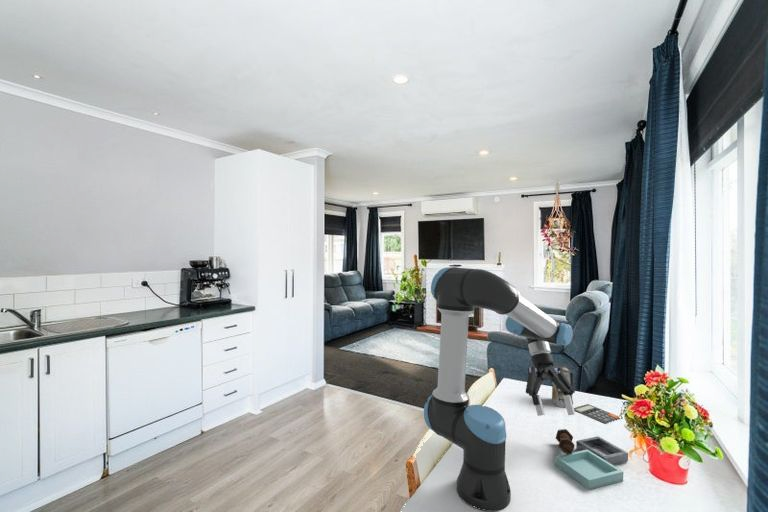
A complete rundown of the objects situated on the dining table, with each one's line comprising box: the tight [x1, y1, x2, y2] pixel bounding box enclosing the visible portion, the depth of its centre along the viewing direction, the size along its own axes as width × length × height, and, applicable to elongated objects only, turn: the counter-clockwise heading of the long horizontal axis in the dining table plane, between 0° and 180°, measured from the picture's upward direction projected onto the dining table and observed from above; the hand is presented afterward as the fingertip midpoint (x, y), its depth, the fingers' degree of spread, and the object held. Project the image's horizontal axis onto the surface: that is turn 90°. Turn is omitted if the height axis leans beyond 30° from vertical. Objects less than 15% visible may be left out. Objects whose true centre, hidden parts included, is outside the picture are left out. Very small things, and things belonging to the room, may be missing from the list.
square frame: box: [575, 435, 629, 466], centre depth 126 cm, size 10×11×3 cm
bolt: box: [555, 429, 576, 454], centre depth 126 cm, size 6×5×15 cm
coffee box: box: [551, 365, 574, 408], centre depth 169 cm, size 9×6×16 cm
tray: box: [554, 450, 624, 491], centre depth 116 cm, size 14×13×3 cm
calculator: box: [574, 403, 621, 425], centre depth 159 cm, size 12×1×15 cm
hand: (556, 415), depth 128 cm, fingers open, 13 cm apart
